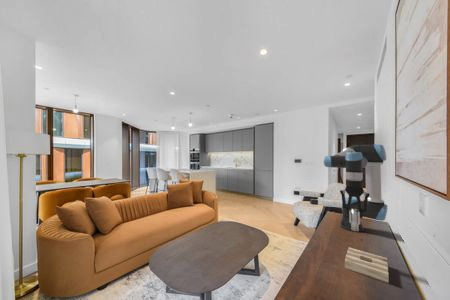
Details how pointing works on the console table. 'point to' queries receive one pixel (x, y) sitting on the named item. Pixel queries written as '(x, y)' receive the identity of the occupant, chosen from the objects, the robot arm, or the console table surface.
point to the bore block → (367, 264)
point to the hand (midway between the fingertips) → (354, 222)
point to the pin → (354, 220)
